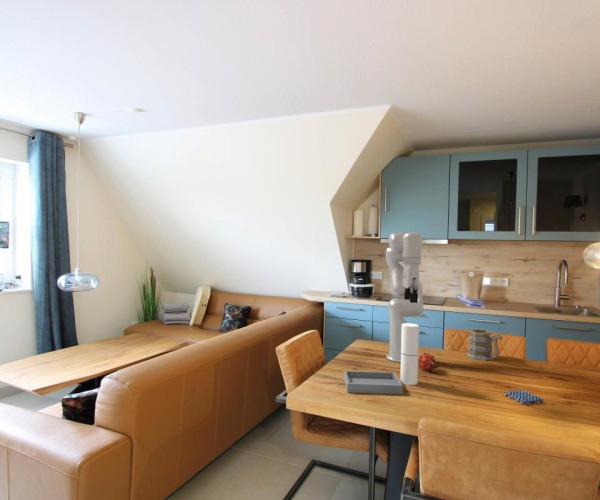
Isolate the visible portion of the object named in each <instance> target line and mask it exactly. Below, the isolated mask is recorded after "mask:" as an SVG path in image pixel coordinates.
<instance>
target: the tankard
mask: <svg viewBox="0 0 600 500" xmlns="http://www.w3.org/2000/svg"><path fill="white" fill-rule="evenodd" d="M492 334H493V333H492V331H491V330H487V329H482V328H479V329H478V328H474V329H470V333H469V335H468V340H469V343H468V349H469V350H467V356H466V357H468V358H471V359H473V360H479V361H484V360H486V361H493V360H494V359H497V358H498V357H499V354H500V348H499V344H498V340H499V341H502V340H503V339H504V337H503V336H502V335H501V334H500V333H498V334H493V335H492ZM493 349H494V350H493ZM493 351H494V352H493ZM492 352H493V353H492Z"/></svg>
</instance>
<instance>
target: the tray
mask: <svg viewBox="0 0 600 500" xmlns="http://www.w3.org/2000/svg"><path fill="white" fill-rule="evenodd" d="M343 380H344V385H345V388H346V393H350V394H351V393H352V394H353V393H354V394H355V393H356V394H357V393H358V394H382V395H383V394H384V395H386V394H387V395H389V394H390V395H403V391H404V390H403V388H404V387H403V386H404V385H403V383H401V382H400V378H398V375H396V373H395V372H394V371H373V370H372V371H371V370H369V371H367V370H365V371H364V370H343Z"/></svg>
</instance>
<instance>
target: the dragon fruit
mask: <svg viewBox="0 0 600 500" xmlns="http://www.w3.org/2000/svg"><path fill="white" fill-rule="evenodd" d="M439 365H440V364H438V363H437V361H436V359H435V356H434V355H432V354H430V353H428V352H423V353H422V354H420V355H419V356H418V369H422V370H423V371H424V372H425V373H429V371H434V370H435V369H436V368H437V369H438V368H439Z"/></svg>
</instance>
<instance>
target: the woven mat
mask: <svg viewBox="0 0 600 500" xmlns="http://www.w3.org/2000/svg"><path fill="white" fill-rule="evenodd" d="M503 397H507V398H508V399H510V400H512V401H513V402H516V403H519V404H521V405H523V406H531V405H532V406H533V405H537V404H538V405H540V404H545V400H544V398H541V397H539V396H537V395H535V394H532V393H530V392H528V391H526V390H522V389H519V390H518V389H516V390H513V391H512V390H510V391H509V390H508V391H507V392H506V391H503Z"/></svg>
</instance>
